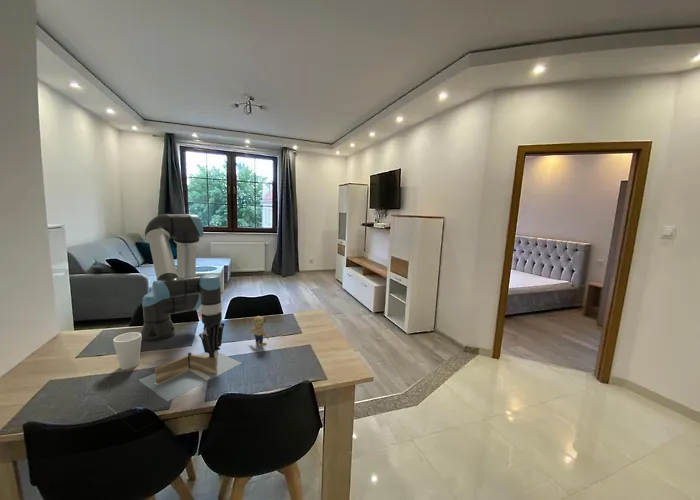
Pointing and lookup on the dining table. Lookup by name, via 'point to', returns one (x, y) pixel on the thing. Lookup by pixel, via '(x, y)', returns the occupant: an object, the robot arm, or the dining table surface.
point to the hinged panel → (202, 363)
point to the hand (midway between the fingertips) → (213, 365)
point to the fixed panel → (171, 369)
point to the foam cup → (128, 349)
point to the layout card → (187, 378)
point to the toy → (259, 330)
